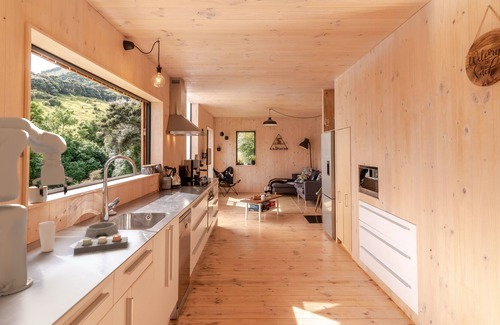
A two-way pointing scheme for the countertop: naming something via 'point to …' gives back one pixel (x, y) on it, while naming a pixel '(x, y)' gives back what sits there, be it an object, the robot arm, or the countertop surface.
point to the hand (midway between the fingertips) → (53, 195)
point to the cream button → (102, 240)
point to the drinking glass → (47, 235)
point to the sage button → (87, 242)
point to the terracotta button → (116, 238)
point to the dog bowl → (101, 229)
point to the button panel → (100, 246)
